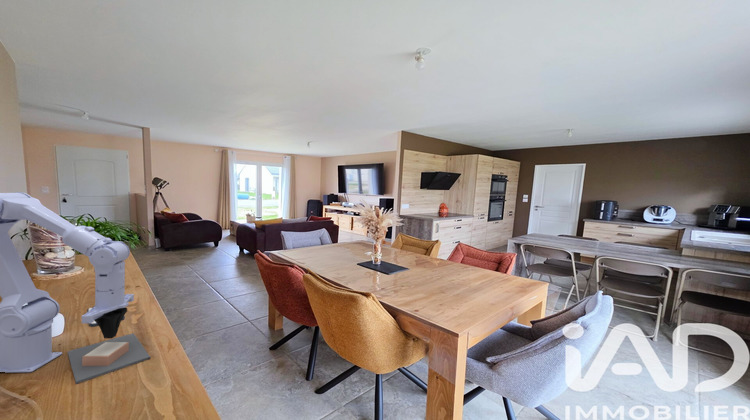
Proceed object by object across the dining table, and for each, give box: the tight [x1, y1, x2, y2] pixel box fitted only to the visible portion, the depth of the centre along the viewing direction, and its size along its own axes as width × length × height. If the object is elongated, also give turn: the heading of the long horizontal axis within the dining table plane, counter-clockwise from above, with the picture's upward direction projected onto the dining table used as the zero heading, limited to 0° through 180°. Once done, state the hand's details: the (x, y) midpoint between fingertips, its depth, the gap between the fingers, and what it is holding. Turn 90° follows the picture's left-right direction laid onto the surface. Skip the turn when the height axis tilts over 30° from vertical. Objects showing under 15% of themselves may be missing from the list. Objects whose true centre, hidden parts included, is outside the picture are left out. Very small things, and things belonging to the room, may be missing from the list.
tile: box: [82, 342, 129, 366], centre depth 75 cm, size 6×3×7 cm
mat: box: [67, 332, 151, 385], centre depth 77 cm, size 18×14×1 cm
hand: (110, 337), depth 76 cm, fingers closed
